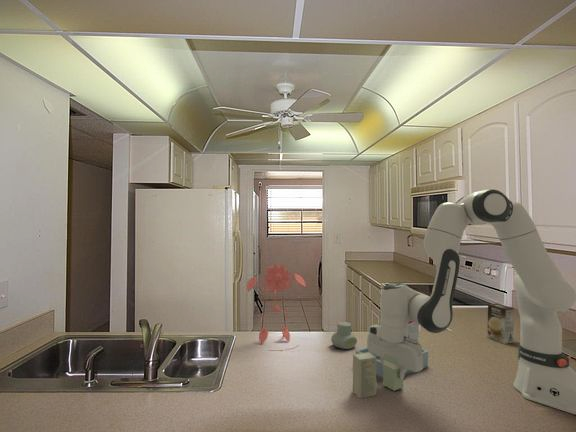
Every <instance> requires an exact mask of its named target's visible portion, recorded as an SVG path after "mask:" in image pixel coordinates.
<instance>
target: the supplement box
mask: <svg viewBox="0 0 576 432" xmlns="http://www.w3.org/2000/svg"><path fill="white" fill-rule="evenodd" d="M419 326H420V325H419V324H418V323H416V322H414V321H409V322H408V338H410V339H412V340H416V341H418V342H419Z"/></svg>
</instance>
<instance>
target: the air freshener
mask: <svg viewBox="0 0 576 432" xmlns="http://www.w3.org/2000/svg"><path fill="white" fill-rule="evenodd" d="M336 326H337V328H336V329H337V331H336V332H335V333H333V334H332V335H331V338H330V341H331V343H332V345H334V346H335V347H336V348H338V349H341V350H350V349H352V348H354V347H355V346H356V345H357V344H358V343H357V342H358V339H357V337H356V335H354V334H353V333H352V324H351V323H350V322H347V321H339V322H337V325H336Z"/></svg>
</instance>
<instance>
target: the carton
mask: <svg viewBox="0 0 576 432" xmlns="http://www.w3.org/2000/svg"><path fill="white" fill-rule="evenodd" d="M401 370H402V369H400V366H399V365H397V364H396V359H394V358H392V357H390V356H387V355H385V354H384V360H383V380H382V381H383V382H382V385H383V386H385V387H386V388H388V389H390V390H392V391H397V390H400V389H402V388H404V379H402V380H401V379H399V378H397V376H398V375H397V373H398V372H401Z"/></svg>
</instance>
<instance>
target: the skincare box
mask: <svg viewBox="0 0 576 432" xmlns="http://www.w3.org/2000/svg"><path fill="white" fill-rule="evenodd" d="M352 359H353V360H352V392H353V394H354V395H355V396H357V398H358V399H361V398H367V397H373V396H376V395H377V377H376V357H375V356H374V355H373V354H371V353H370V352H366V353H359V354H355V353H353V354H352Z"/></svg>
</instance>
